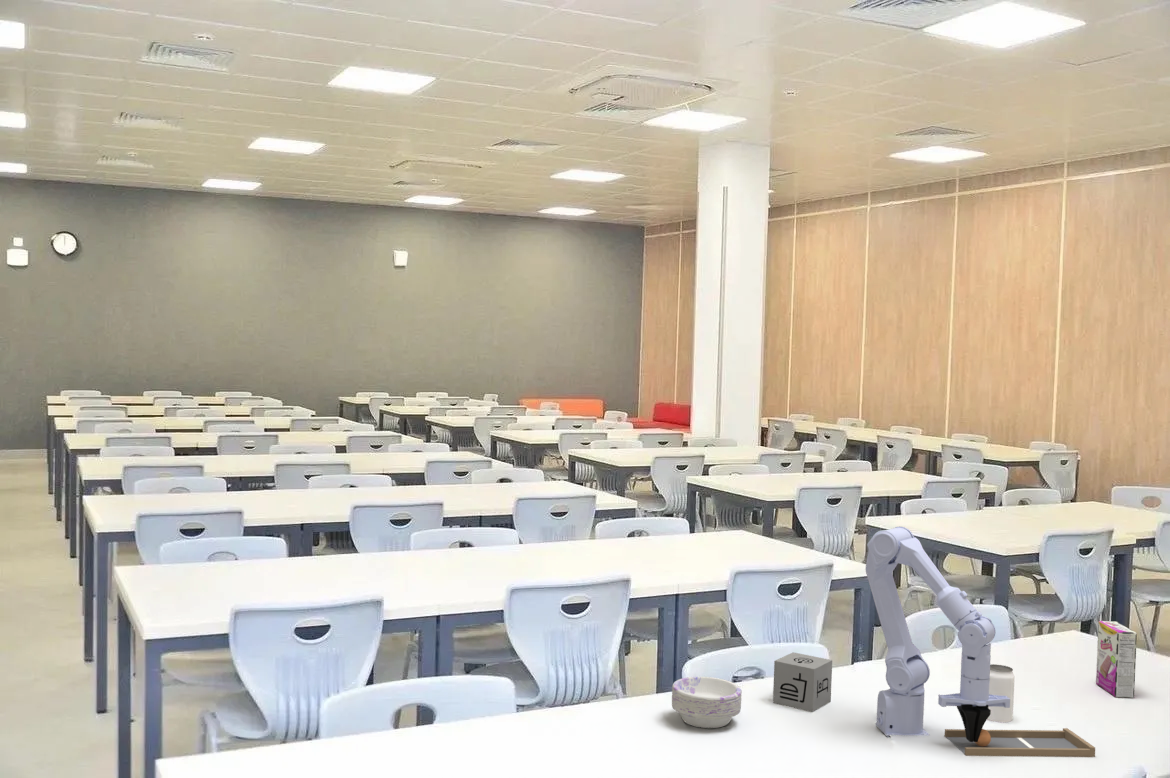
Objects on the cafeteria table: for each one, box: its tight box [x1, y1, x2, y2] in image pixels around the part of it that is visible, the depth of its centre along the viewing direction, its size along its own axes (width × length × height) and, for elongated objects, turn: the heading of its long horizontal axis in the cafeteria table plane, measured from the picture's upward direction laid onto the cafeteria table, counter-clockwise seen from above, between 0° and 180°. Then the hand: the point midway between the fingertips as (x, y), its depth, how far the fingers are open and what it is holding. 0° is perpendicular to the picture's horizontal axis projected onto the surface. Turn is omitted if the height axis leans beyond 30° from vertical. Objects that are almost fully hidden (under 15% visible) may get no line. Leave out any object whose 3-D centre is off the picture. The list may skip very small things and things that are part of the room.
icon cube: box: [772, 652, 833, 713], centre depth 258 cm, size 10×10×10 cm
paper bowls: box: [671, 676, 743, 729], centre depth 243 cm, size 15×15×8 cm
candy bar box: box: [1095, 620, 1138, 699], centre depth 275 cm, size 11×5×16 cm, turn 179°
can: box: [986, 663, 1015, 724], centre depth 250 cm, size 6×6×12 cm
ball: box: [975, 728, 991, 746], centre depth 231 cm, size 4×4×4 cm
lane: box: [944, 727, 1096, 758], centre depth 232 cm, size 27×12×2 cm, turn 93°
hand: (972, 740), depth 231 cm, fingers closed
